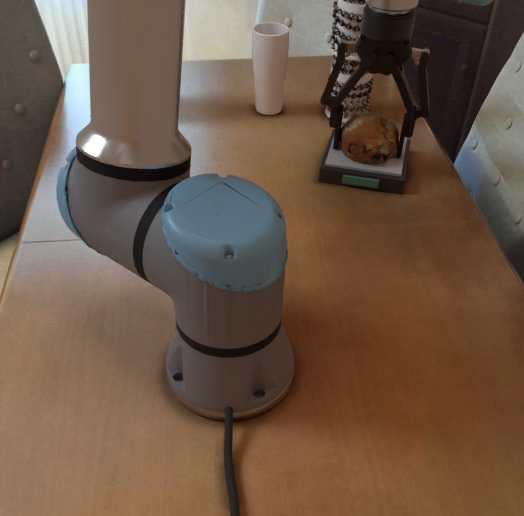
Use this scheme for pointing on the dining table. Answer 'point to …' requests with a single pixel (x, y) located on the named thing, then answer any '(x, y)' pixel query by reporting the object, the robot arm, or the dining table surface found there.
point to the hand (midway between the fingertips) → (367, 149)
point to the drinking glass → (269, 65)
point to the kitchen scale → (364, 170)
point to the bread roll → (369, 138)
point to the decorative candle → (349, 28)
